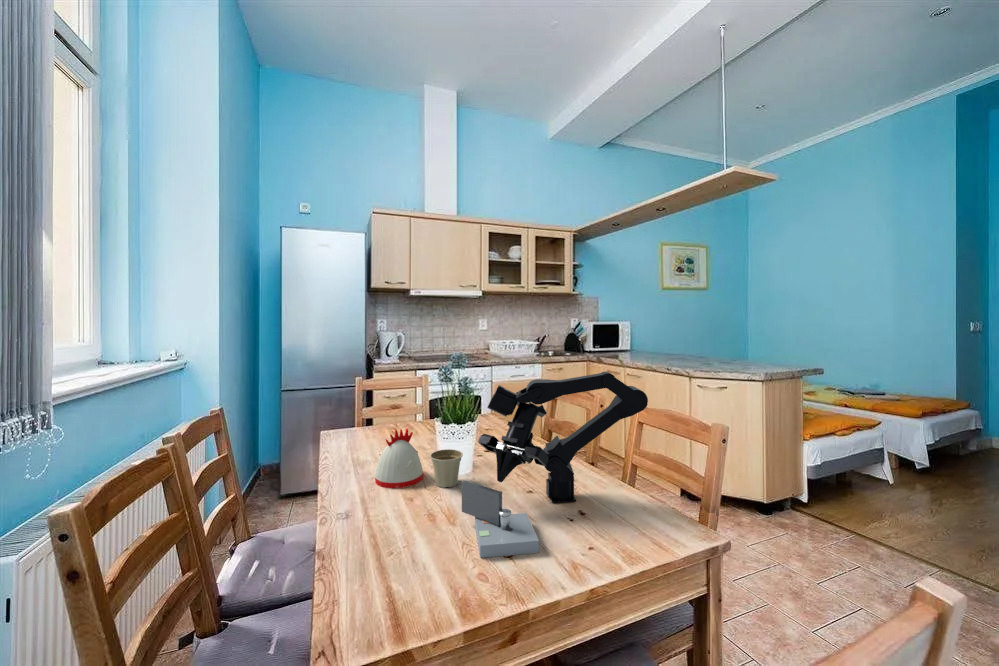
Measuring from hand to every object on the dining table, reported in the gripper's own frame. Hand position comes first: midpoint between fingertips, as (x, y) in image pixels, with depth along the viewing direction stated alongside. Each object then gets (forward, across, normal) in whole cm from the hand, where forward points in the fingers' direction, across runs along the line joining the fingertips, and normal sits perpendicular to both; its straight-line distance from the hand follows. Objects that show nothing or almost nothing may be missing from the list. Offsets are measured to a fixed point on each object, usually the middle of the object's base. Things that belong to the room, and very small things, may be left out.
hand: (499, 481), depth 99 cm
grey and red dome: (+7, +37, -5) cm, 38 cm away
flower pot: (+4, +23, -9) cm, 25 cm away
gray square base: (+11, -8, +2) cm, 14 cm away
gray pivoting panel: (+9, -3, +4) cm, 10 cm away
